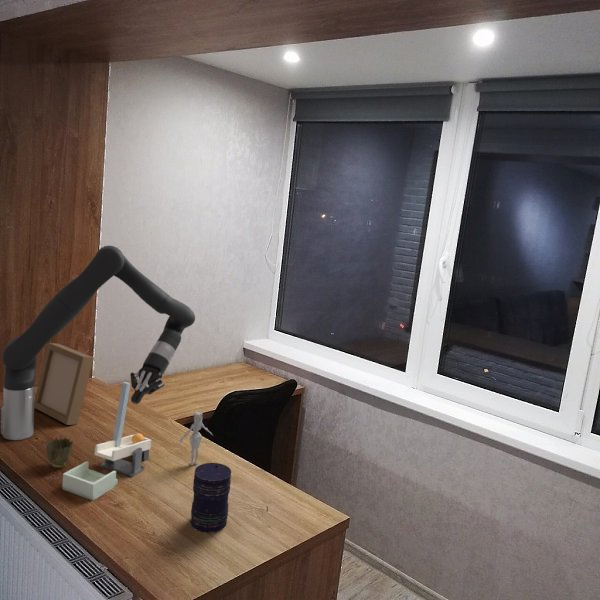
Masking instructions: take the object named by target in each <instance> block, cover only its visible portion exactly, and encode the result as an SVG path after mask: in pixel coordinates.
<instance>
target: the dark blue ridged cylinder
mask: <svg viewBox="0 0 600 600" xmlns="http://www.w3.org/2000/svg"><path fill="white" fill-rule="evenodd" d="M231 479H232V470H231V468H230V467H229V466H227V465H225V464H222V463H218V462H206V463H202V464H198V466H196V467H195V469H194V475H193V487H192V492H193V498H192V499H193V500H192V504H191V510H190V517H191V518H190V525H192V526H191V527H192V528H193V530H195V529H196V530H195V531H197V532H199V531H200V533H202V532H206V533H205V534H213V533H212V532H215V533H218V532H217V531H219V532H221V531H223V530H224V529H225V528H226V527H227V525H226V524H228V516H229V515H228V514H229V494H230V490H231V486H232V485H231V484H232V483H231V481H232V480H231ZM225 526H226V527H225ZM224 527H225V528H224ZM223 528H224V529H223ZM222 529H223V530H222ZM220 530H221V531H220Z"/></svg>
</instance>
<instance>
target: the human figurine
mask: <svg viewBox="0 0 600 600" xmlns="http://www.w3.org/2000/svg"><path fill="white" fill-rule="evenodd" d="M193 421H194V422H193V423H192V424H191V425H190V427H189V430H188V431H186V432H185V434H184V435H183V436H182V437H180V440H178V441H179V443H182V442H183V440H184V438H186V437H187V436H188V435H189V434H190V432H191V431H193V432H192V433H191V435H190V438H189V443H190V447H191V451H190V452H191V454H190V455H191V456H190V458H191V459H190V462H188V465H189V466H191V467H192V466H193V467H194V465H195V466H197V465H198V458H199V448H200V446H201V442H202V439H203V437H202V434H201V433H200V432H199V431H201V429H202V428H203V429H204V430H205V431H206V432H208V433H210V435H211V436H213V433H212V432H211V431H210V430H209V429H208V427H205V425H204V423H203V412H198V411H196V412H194V413H193ZM194 458H195V459H194Z"/></svg>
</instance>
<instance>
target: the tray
mask: <svg viewBox="0 0 600 600" xmlns="http://www.w3.org/2000/svg"><path fill="white" fill-rule="evenodd" d="M89 465H90V463H89V461H87V460H86V461H85V462H83V463H81V464H79V465H76V466H75V467H73V468H71V469H69V470H67V471H66V472H64V473H62V490H64V491H66V492H69V493H72V494H74V495H77V496H79V497H82V498H85V499H87V500H90V501H92V502H93V501H95V500H96V499H98V498H99V497H101V496H103V495H105V494H106V493H107V492H109V491H111V490H112V489H114V488H115V487H117V486H118V483H119V482H118V478H117V472H116V471H112V470H111V472H109V473H107V474H104V473H102V472H98V471H96V470H93V469H89Z"/></svg>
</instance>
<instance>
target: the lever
mask: <svg viewBox="0 0 600 600" xmlns="http://www.w3.org/2000/svg"><path fill="white" fill-rule="evenodd" d="M131 386H132V384H131V382H127V381H123V382H122V383H121V389H120V396H119V400H118V407H117V411H116V419H115V424H114V431H113V435H112V439H113V440H112V439H111V440H112V441H110V440H107V441H105V442H102V443H101V442H100V443H98V444H95V449H94V456H97V457H100V458H102V459H104V460H105V459H108V460H111V461H115V460H118V459H123V458H127V457H131V455H133V451H134V450H136V449H138V448H139V447H140V448H142V451H145V450H148V449H149V450H151V449H152V442H153V439H150V438H148V437H144V436H143V437H144V440H143V441H142V442H139V443H135V444H134V443H133V442H132V437H133V436H134V435H135V434H136V433H134V434H130V435H127V436H123V431H124V425H125V420H126V414H127V408H128V401H129V395H130V390H131Z"/></svg>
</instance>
